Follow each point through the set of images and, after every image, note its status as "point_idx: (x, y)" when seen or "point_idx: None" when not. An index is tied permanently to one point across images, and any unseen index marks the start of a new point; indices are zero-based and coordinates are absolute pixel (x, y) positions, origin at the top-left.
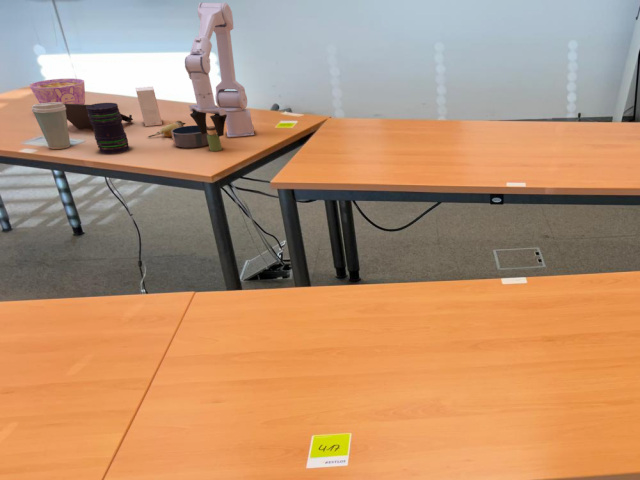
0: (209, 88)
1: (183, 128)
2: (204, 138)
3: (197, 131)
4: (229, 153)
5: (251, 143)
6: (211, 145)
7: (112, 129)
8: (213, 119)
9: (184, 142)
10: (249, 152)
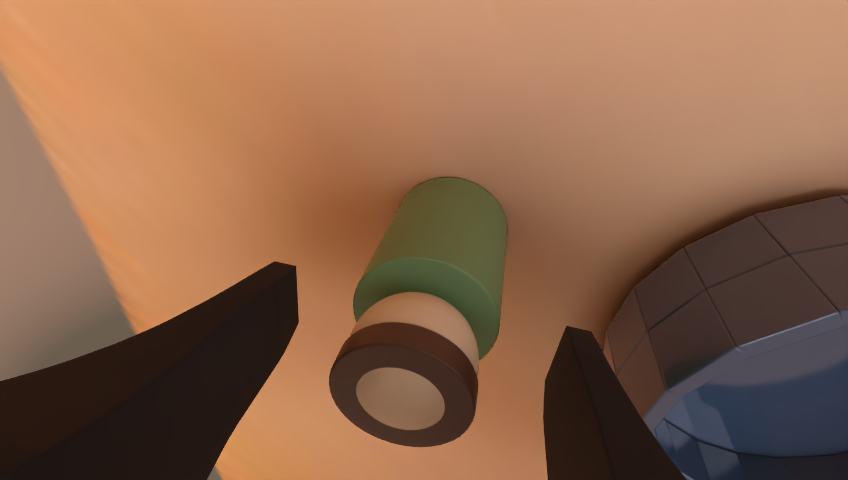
0: None
1: None
2: (627, 358)
3: None
4: (249, 151)
5: (316, 403)
6: (436, 201)
7: None
8: (17, 416)
9: None
10: (140, 217)
